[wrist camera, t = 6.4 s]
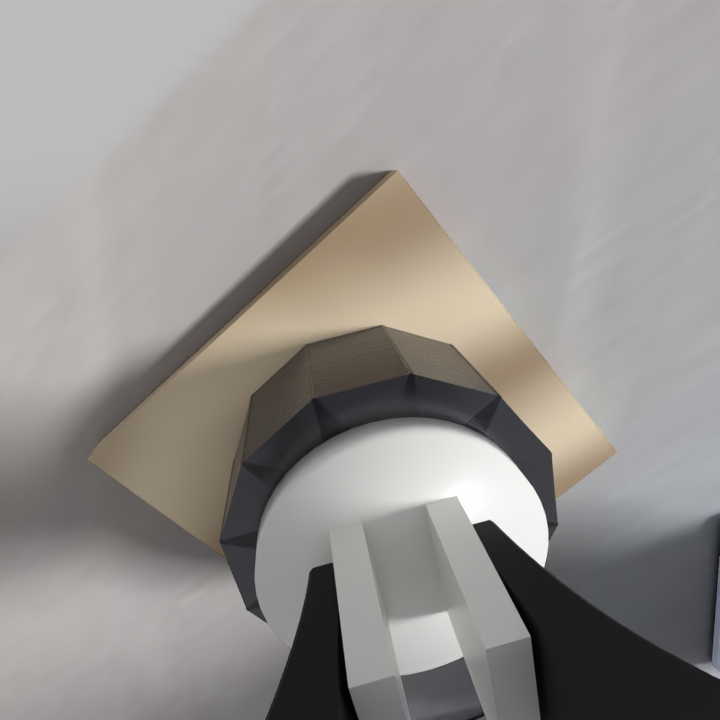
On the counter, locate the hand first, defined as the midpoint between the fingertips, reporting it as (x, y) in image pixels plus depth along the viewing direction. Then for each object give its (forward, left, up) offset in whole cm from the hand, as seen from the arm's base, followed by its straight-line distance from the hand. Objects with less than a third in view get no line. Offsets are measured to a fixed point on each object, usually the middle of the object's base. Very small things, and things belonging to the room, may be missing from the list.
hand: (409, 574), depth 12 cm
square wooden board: (0, 0, -6) cm, 6 cm away
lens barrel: (0, 0, -5) cm, 5 cm away
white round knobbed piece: (0, 0, -3) cm, 3 cm away
